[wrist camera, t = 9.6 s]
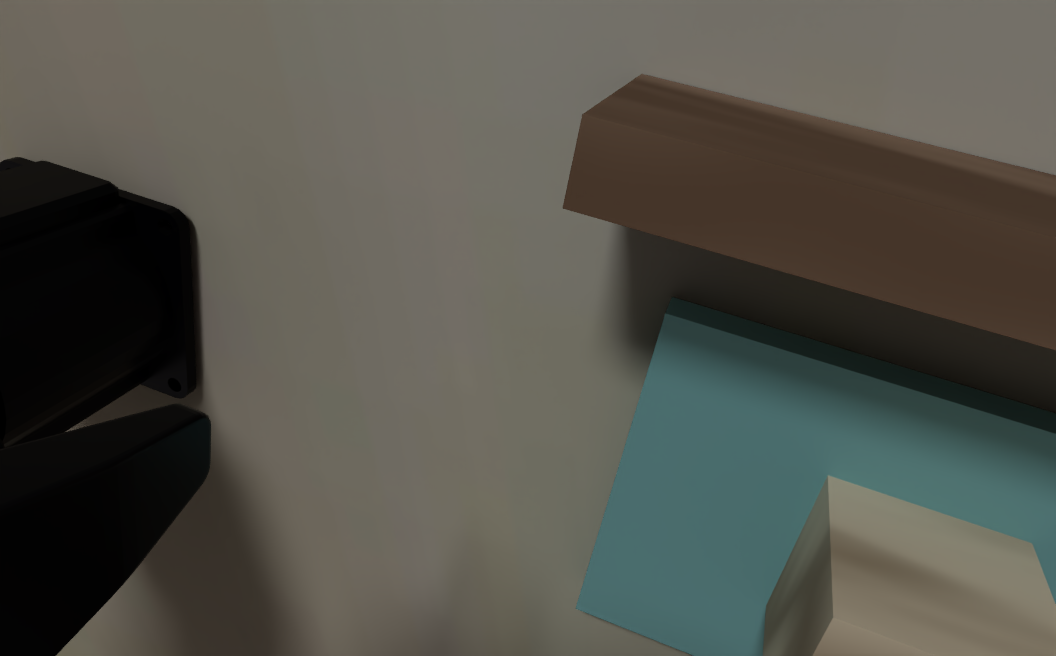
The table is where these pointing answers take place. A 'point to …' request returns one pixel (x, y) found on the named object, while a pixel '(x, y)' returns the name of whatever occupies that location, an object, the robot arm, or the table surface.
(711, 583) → the display plate
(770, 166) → the brown wooden plank
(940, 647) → the maple cube
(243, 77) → the table surface
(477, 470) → the table surface
